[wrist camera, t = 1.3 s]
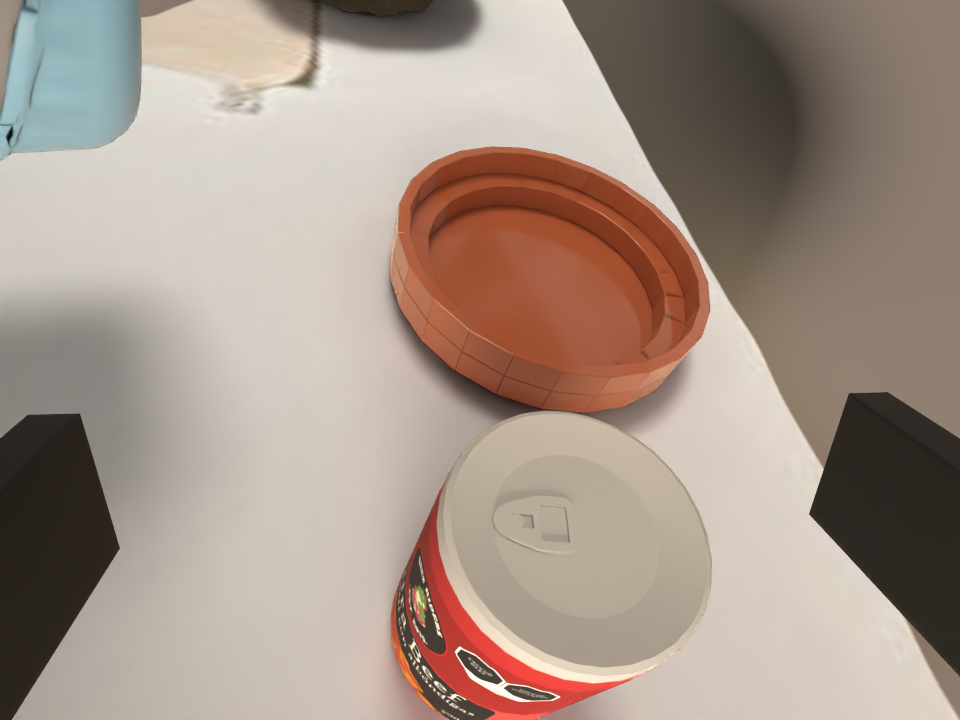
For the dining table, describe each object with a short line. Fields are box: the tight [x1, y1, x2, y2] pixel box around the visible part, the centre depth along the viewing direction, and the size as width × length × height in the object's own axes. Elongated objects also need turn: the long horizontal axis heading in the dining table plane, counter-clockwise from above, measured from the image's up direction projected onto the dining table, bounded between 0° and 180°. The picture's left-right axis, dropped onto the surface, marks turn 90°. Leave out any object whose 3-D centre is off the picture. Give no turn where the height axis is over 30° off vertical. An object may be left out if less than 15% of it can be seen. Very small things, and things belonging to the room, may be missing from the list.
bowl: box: [390, 147, 710, 413], centre depth 37 cm, size 19×19×4 cm
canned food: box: [391, 411, 712, 720], centre depth 20 cm, size 8×8×11 cm
